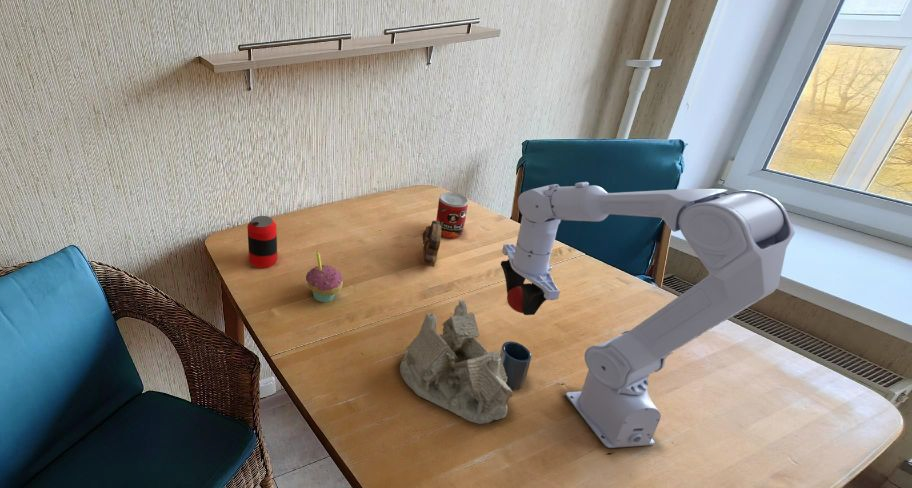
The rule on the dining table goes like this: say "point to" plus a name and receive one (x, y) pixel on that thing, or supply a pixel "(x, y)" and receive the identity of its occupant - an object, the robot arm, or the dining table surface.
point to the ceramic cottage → (457, 369)
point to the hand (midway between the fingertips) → (520, 304)
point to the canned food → (452, 214)
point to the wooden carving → (431, 243)
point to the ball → (515, 299)
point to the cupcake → (324, 281)
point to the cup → (515, 363)
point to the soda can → (262, 242)
